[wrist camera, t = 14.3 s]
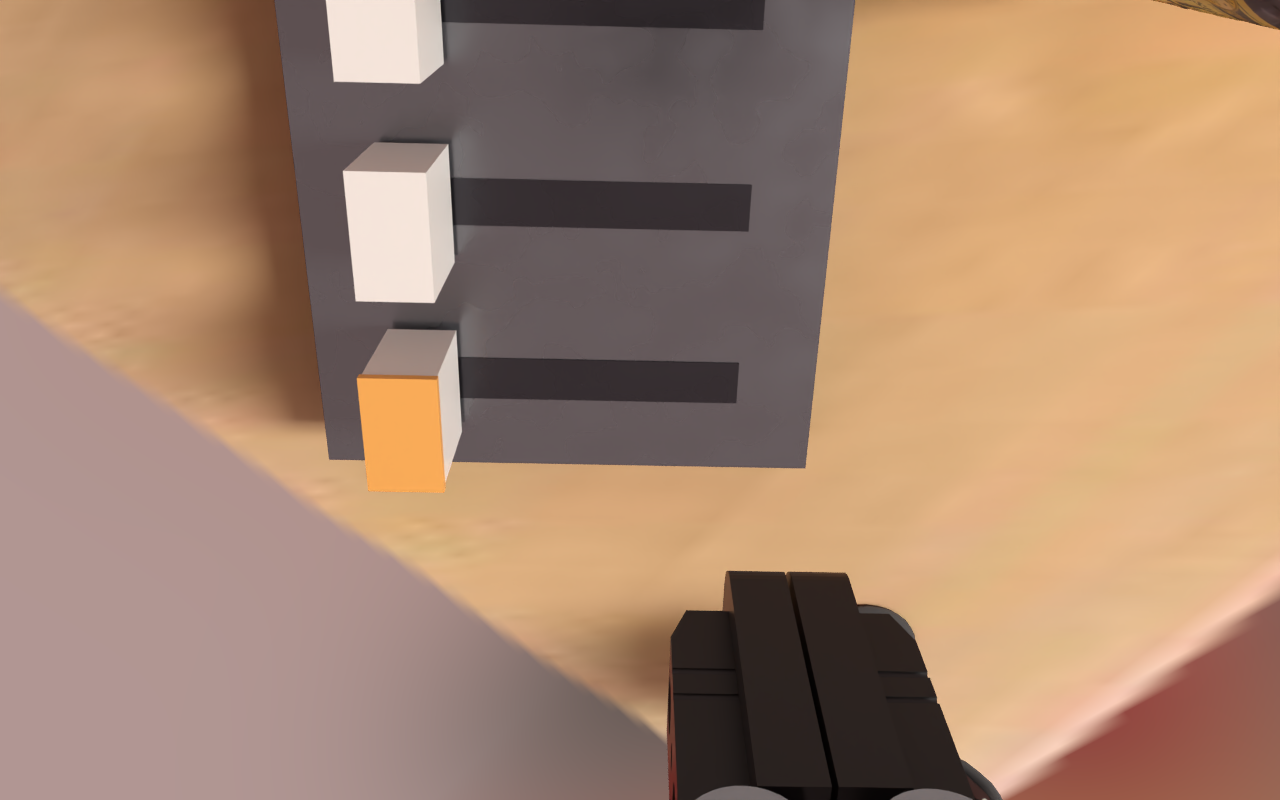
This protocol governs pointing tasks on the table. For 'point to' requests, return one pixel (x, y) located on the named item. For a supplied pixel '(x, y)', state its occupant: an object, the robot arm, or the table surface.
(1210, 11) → the sauce bottle
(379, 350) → the block
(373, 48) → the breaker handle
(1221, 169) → the table surface
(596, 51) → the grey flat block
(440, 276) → the handle
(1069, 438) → the table surface
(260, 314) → the table surface
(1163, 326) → the table surface
